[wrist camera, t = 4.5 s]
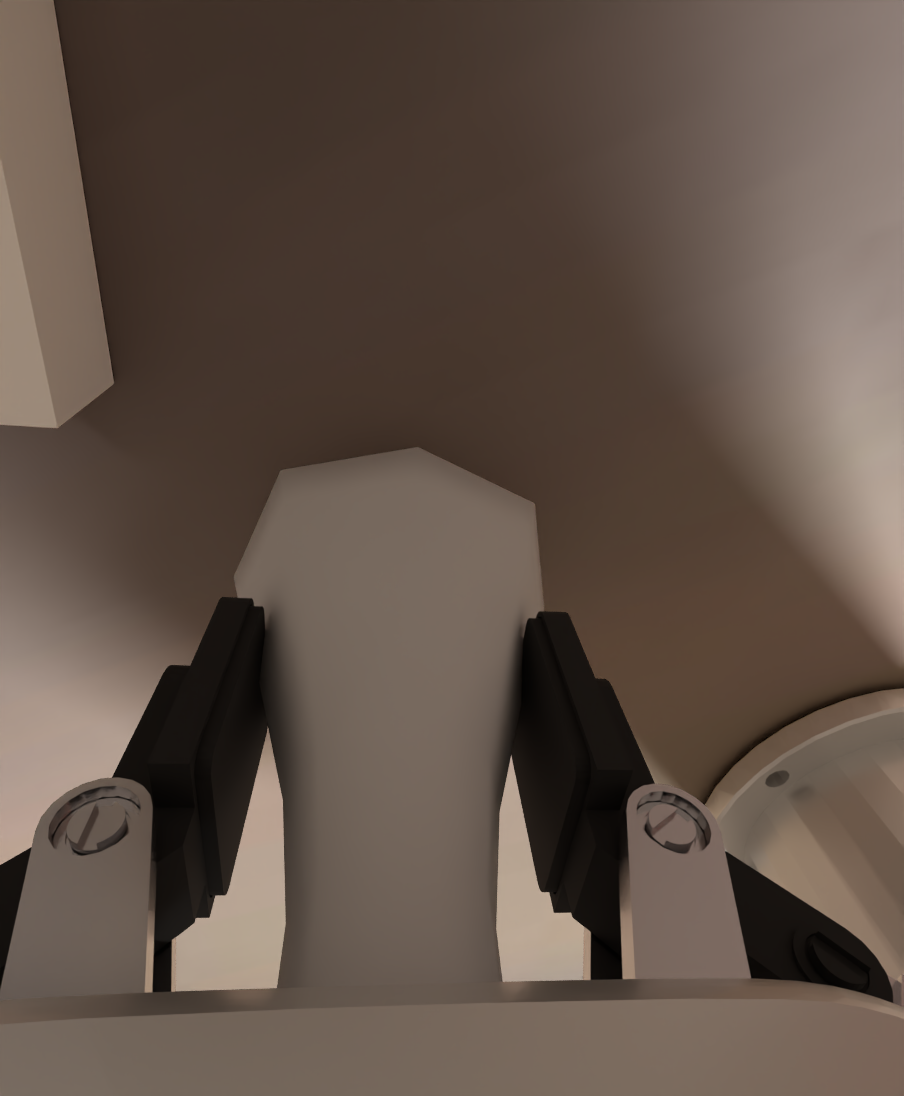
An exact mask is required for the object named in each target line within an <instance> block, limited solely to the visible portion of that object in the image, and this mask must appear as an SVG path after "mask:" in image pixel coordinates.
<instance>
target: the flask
mask: <svg viewBox="0 0 904 1096" xmlns="http://www.w3.org/2000/svg"><path fill="white" fill-rule="evenodd" d="M234 582H235V587H236V592H237V597H238V598H252V599H253V602H254V606H263V607H264V615H265V637H264V645H263V654H262V663H261V672H260V680H259V684H260V689H261V694H262V699H263V704H264V709H265V714H266V718H267V723H268V728H269V733H270V738H271V743H272V748H273V753H274V758H275V763H276V768H277V773H278V778H279V783H280V788H281V793H282V798H283V818H284V862H285V906H286V927H285V934H284V941H283V948H282V956H281V963H280V970H279V978H278V985H277V988H301V987H334V986H370V985H406V984H443V983H481V982H502V974H501V966H500V957H499V949H498V941H497V933H496V912H497V877H498V842H499V811H500V806H501V802H502V797H503V792H504V787H505V782H506V777H507V772H508V767H509V762H510V757H511V752H512V748H513V743H514V738H515V733H516V728H517V723H518V718H519V713H520V708H521V695H522V655H523V638H524V633H525V628H526V623H527V620H528V619H529V618H536V616H537V614H538V612H539V611H544V599H543V588H542V576H541V565H540V554H539V543H538V532H537V521H536V510H535V503H533V502H531V501H529V500H527V499H525V498H523V497H521V496H518V495H516V494H514V493H512V492H510V491H508V490H506V489H504V488H502V487H500V486H498V485H496V484H494V483H492V482H490V481H487V480H485V479H483V478H481V477H479V476H477V475H475V474H473V473H471V472H469V471H467V470H465V469H463V468H461V467H458V466H456V465H454V464H452V463H450V462H448V461H446V460H444V459H442V458H440V457H438V456H436V455H434V454H432V453H430V452H427V451H425V450H423V449H421V448H419V447H415V448H409V449H403V450H397V451H391V452H385V453H379V454H373V455H367V456H361V457H355V458H349V459H343V460H337V461H331V462H325V463H319V464H313V465H308V466H302V467H296V468H290V469H284V470H280V473H279V475H278V477H277V479H276V482H275V484H274V486H273V488H272V491H271V493H270V495H269V498H268V500H267V502H266V504H265V507H264V509H263V511H262V513H261V516H260V518H259V520H258V523H257V525H256V527H255V529H254V532H253V534H252V536H251V538H250V541H249V543H248V545H247V548H246V550H245V552H244V554H243V557H242V559H241V561H240V563H239V566H238V568H237V570H236V573H235V575H234Z"/></svg>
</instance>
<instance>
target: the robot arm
mask: <svg viewBox="0 0 904 1096" xmlns="http://www.w3.org/2000/svg"><path fill="white" fill-rule="evenodd" d="M264 637H265V615H264V607H263V606H254V602H253V599H252V598H233V597H222V598H221V599H220V600H219V602H218V605H217V607H216V609H215V611H214V614H213V616H212V618H211V620H210V623H209V625H208V627H207V629H206V632H205V634H204V636H203V638H202V641H201V643H200V645H199V647H198V650H197V652H196V654H195V656H194V659H193V661H192V663H191V666H183V665H170V666H169V667H167V669H166V670H165V672H164V673H163V675H162V677H161V679H160V681H159V683H158V685H157V687H156V689H155V691H154V693H153V695H152V698H151V700H150V702H149V704H148V706H147V708H146V710H145V712H144V714H143V716H142V718H141V720H140V722H139V724H138V726H137V728H136V730H135V732H134V734H133V736H132V738H131V740H130V742H129V744H128V746H127V748H126V750H125V752H124V754H123V756H122V758H121V760H120V762H119V765H118V767H117V769H116V771H115V773H114V775H113V777H112V778H104V779H98V780H95V781H91V782H88V783H85V784H82V785H80V786H78V787H76V788H74V789H72V790H70V791H68V792H67V793H65V794H64V795H63V796H61V797H60V798H59V799H58V800H56V801H55V802H54V803H52V805H51V806H50V807H49V808H48V809H47V811H46V812H45V813H44V814H43V816H42V817H41V819H40V821H39V824H38V826H37V828H36V831H35V835H34V839H33V844H32V847H31V848H29V849H28V850H26V851H24V852H22V853H21V854H19V855H17V856H15V857H14V858H12V859H10V860H8V861H7V862H5V863H3V864H1V865H0V1096H904V688H901V689H892V690H883V691H878V692H874V693H869V694H865V695H861V696H857V697H853V698H849V699H846V700H843V701H841V702H838V703H835V704H833V705H830V706H828V707H825V708H822V709H820V710H817V711H815V712H813V713H811V714H809V715H807V716H805V717H803V718H801V719H799V720H797V721H795V722H793V723H791V724H789V725H787V726H785V727H784V728H782V729H781V730H779V731H778V732H776V733H775V734H773V735H772V736H770V737H769V738H767V739H766V740H764V741H763V742H761V743H760V744H758V745H757V746H756V747H755V748H753V749H752V750H751V751H750V752H749V753H748V754H746V755H745V756H744V757H743V758H742V759H741V760H740V761H738V762H737V763H736V764H735V765H734V766H733V767H732V768H731V769H730V771H729V772H728V773H727V774H726V775H725V776H724V778H723V779H722V780H721V781H720V782H719V783H718V785H717V786H716V787H715V789H714V790H713V792H712V794H711V795H710V797H709V799H708V801H707V802H706V804H705V805H704V804H702V803H701V802H700V801H699V800H698V799H697V798H696V797H694V796H692V795H690V794H689V793H687V792H685V791H684V790H681V789H679V788H676V787H673V786H670V785H664V784H655V783H654V780H653V778H652V776H651V774H650V771H649V769H648V767H647V765H646V762H645V760H644V758H643V756H642V753H641V751H640V749H639V747H638V744H637V742H636V740H635V738H634V735H633V733H632V731H631V728H630V726H629V724H628V722H627V719H626V717H625V715H624V713H623V710H622V708H621V706H620V704H619V701H618V699H617V697H616V695H615V692H614V690H613V688H612V686H611V684H610V683H609V681H607V680H606V679H595V677H594V674H593V672H592V669H591V667H590V664H589V662H588V660H587V657H586V655H585V652H584V650H583V648H582V645H581V643H580V640H579V638H578V636H577V633H576V631H575V628H574V626H573V624H572V621H571V619H570V616H569V615H568V613H566V612H546V611H539V612H538V614H537V616H536V618H529V619H528V620H527V623H526V628H525V633H524V638H523V655H522V695H521V708H520V713H519V718H518V723H517V728H516V733H515V738H514V743H513V748H512V752H511V755H512V760H513V765H514V770H515V775H516V779H517V784H518V789H519V794H520V799H521V804H522V808H523V813H524V818H525V823H526V828H527V833H528V837H529V842H530V847H531V852H532V857H533V862H534V866H535V871H536V876H537V881H538V885H539V888H540V890H541V891H542V892H550V897H551V901H552V906H553V910H554V913H570V912H571V913H572V917H573V918H574V919H575V920H577V921H578V922H579V923H580V924H582V925H583V926H584V927H585V928H584V954H583V980H568V981H522V982H481V983H443V984H406V985H370V986H334V987H301V988H270V989H239V990H209V991H178V992H176V937H177V936H178V935H179V934H180V933H182V932H183V931H184V930H186V929H187V928H188V927H190V926H191V925H192V924H193V923H194V922H195V918H209V917H210V914H211V910H212V906H213V902H214V898H215V895H226V894H227V891H228V889H229V885H230V881H231V877H232V873H233V869H234V865H235V860H236V856H237V852H238V848H239V844H240V840H241V836H242V832H243V828H244V823H245V819H246V815H247V811H248V807H249V803H250V799H251V795H252V791H253V786H254V782H255V778H256V774H257V770H258V766H259V762H260V758H261V754H262V749H263V745H264V741H265V737H266V733H267V728H268V723H267V718H266V714H265V709H264V704H263V699H262V694H261V689H260V684H259V680H260V672H261V663H262V654H263V645H264Z"/></svg>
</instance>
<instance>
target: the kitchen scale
mask: <svg viewBox="0 0 904 1096" xmlns="http://www.w3.org/2000/svg"><path fill="white" fill-rule="evenodd" d="M113 384H114V379H113V373H112V367H111V360H110V354H109V348H108V341H107V335H106V329H105V323H104V316H103V310H102V304H101V297H100V291H99V285H98V278H97V272H96V266H95V259H94V253H93V247H92V240H91V234H90V228H89V222H88V215H87V209H86V203H85V196H84V190H83V184H82V177H81V171H80V165H79V158H78V152H77V146H76V139H75V133H74V127H73V121H72V114H71V108H70V102H69V95H68V89H67V83H66V76H65V70H64V64H63V57H62V51H61V45H60V38H59V32H58V26H57V19H56V13H55V7H54V1H53V0H0V425H13V426H29V427H45V428H59V427H60V426H61V425H62V424H64V423H65V422H66V421H67V420H69V419H70V418H71V417H73V416H74V415H75V414H76V413H78V412H79V411H80V410H81V409H83V408H84V407H85V406H86V405H88V404H89V403H90V402H92V401H93V400H94V399H95V398H97V397H98V396H99V395H100V394H102V393H103V392H104V391H106V390H107V389H108V388H109V387H111V386H112V385H113Z"/></svg>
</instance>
